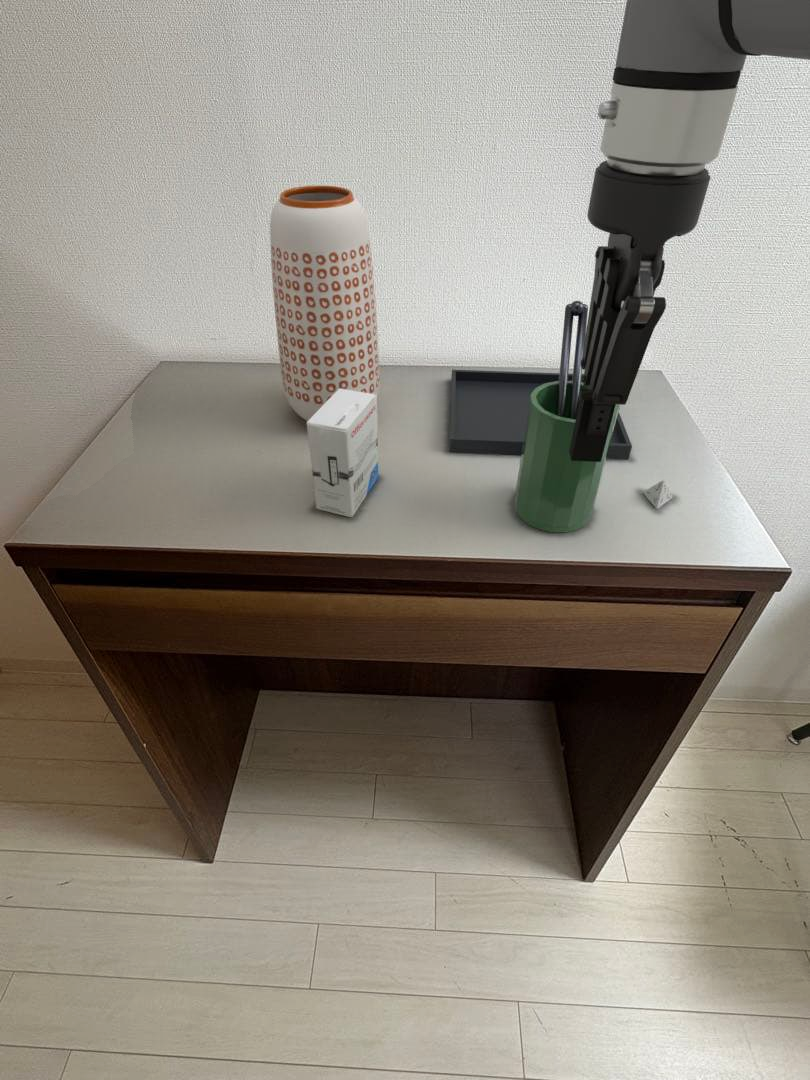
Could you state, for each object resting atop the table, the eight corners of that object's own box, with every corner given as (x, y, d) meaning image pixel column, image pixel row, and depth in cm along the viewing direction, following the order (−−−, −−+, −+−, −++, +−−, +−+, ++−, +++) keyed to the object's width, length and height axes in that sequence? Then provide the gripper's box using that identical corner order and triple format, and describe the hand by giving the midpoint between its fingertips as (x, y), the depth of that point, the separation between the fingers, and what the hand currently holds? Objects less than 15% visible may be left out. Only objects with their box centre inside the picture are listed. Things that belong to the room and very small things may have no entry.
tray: (601, 386, 95) (604, 374, 94) (628, 459, 80) (632, 446, 79) (451, 381, 96) (451, 369, 95) (449, 452, 81) (450, 438, 80)
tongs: (557, 466, 77) (588, 298, 64) (567, 523, 69) (605, 343, 55) (539, 465, 77) (565, 298, 64) (546, 522, 69) (579, 343, 55)
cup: (597, 497, 74) (625, 390, 65) (581, 541, 68) (610, 430, 59) (526, 479, 77) (543, 374, 67) (504, 520, 70) (520, 410, 61)
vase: (393, 428, 86) (391, 201, 67) (299, 445, 82) (269, 212, 64) (364, 385, 95) (355, 177, 76) (278, 400, 91) (247, 185, 73)
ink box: (344, 470, 78) (338, 384, 70) (380, 478, 77) (378, 392, 69) (313, 509, 72) (303, 420, 64) (352, 519, 70) (347, 429, 63)
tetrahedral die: (639, 510, 73) (645, 496, 71) (642, 491, 75) (648, 477, 72) (670, 516, 73) (677, 502, 70) (672, 497, 74) (679, 482, 71)
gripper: (583, 144, 47) (537, 419, 62) (616, 183, 37) (552, 497, 52) (684, 146, 46) (612, 422, 62) (745, 185, 37) (641, 501, 52)
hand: (584, 456), depth 57 cm, fingers closed
